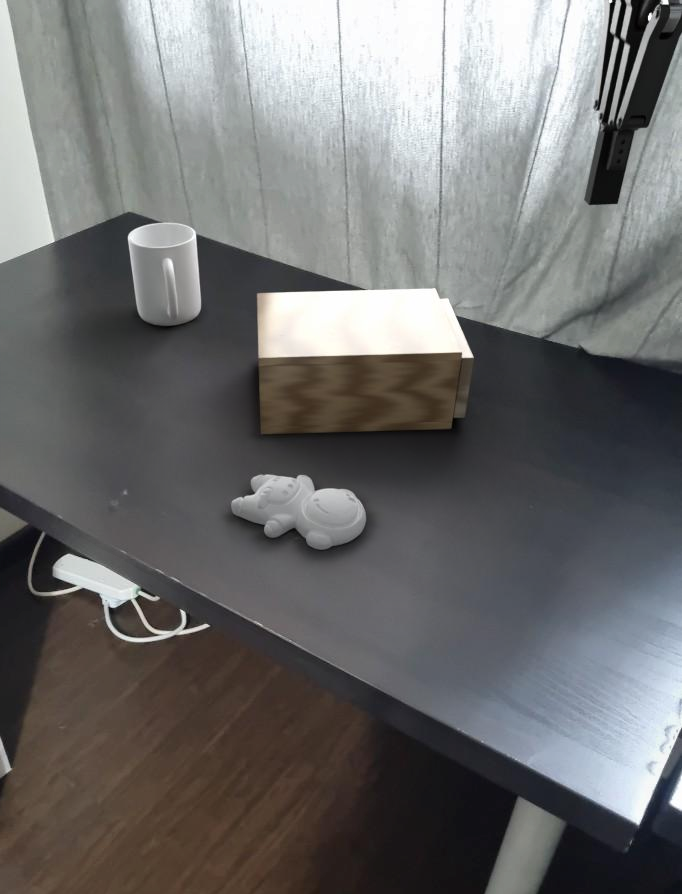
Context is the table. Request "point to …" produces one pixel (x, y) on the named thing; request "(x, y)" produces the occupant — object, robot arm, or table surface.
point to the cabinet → (356, 361)
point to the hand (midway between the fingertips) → (600, 201)
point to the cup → (165, 273)
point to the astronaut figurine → (302, 510)
